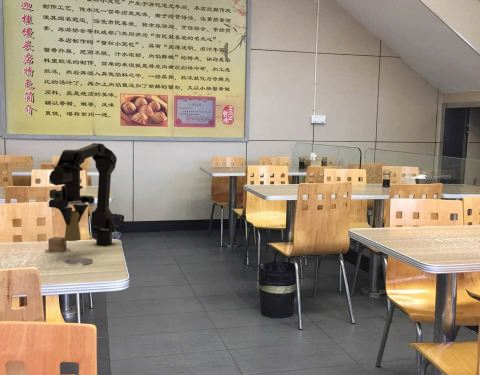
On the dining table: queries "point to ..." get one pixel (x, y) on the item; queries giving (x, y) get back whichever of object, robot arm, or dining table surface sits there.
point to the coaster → (58, 252)
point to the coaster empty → (79, 261)
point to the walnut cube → (57, 244)
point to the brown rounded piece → (73, 228)
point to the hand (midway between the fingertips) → (72, 224)
